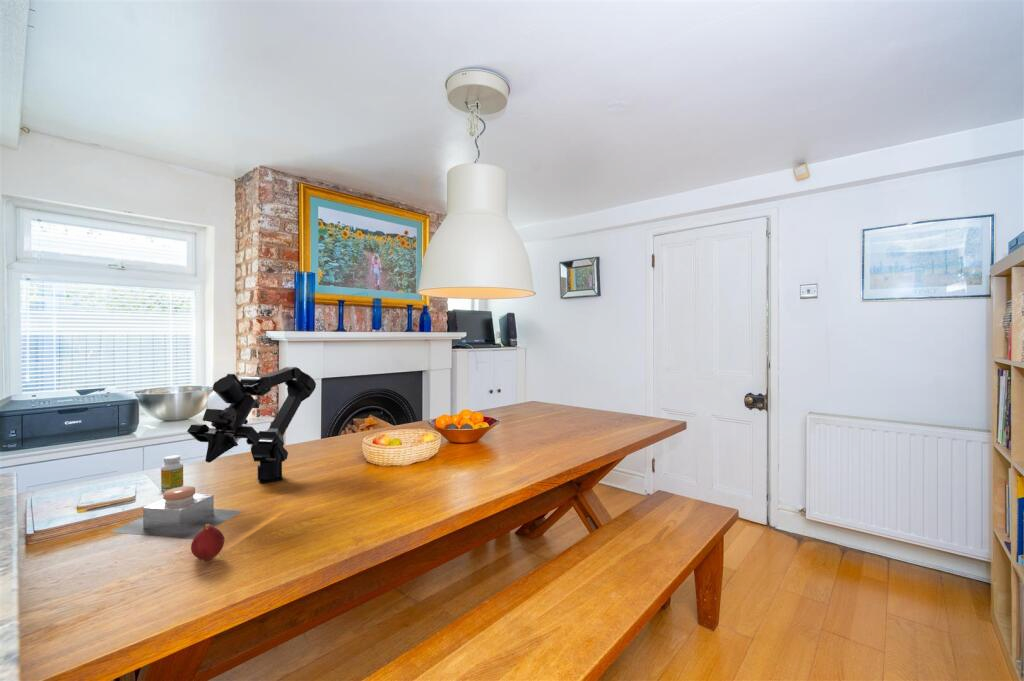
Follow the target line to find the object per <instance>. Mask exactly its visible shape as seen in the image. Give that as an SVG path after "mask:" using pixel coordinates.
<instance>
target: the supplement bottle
mask: <svg viewBox="0 0 1024 681" xmlns="http://www.w3.org/2000/svg"><path fill="white" fill-rule="evenodd" d="M163 463H164V464H162V465H161V466H160V467H161V468H160V480H161V482H160V485H161V486H160V487H161V488H160V490H161V491H162V490H163V492H165V491H167V490H170V489H173V488H177V487H184V464H183V462H181V455H180V454H179V455H178V454H176V455H175V454H174V455H167V456H164V457H163Z"/></svg>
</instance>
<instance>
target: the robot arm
mask: <svg viewBox="0 0 1024 681" xmlns="http://www.w3.org/2000/svg"><path fill="white" fill-rule="evenodd" d="M282 384H284V385H286V386H287V387H286V390H287V397H286V398H285V400H284V402H283V403H282V405H281V407H280V409H279V410H278V412H277V414H276V415H275V416H274V418H273V420H272V422H271V424H270V425H269V428H268V429H267V430H259V432H258V431H257V430H256V429H255V428H254V427H253V426H251V425H250V426H249V425H248V422H249V421H248V419H247V418H248V417H249V415H250V413H251V412H252V410H253V409H259V408H260V403H259V401H258V399H257V398H256V399H255V398H254V396H255V397H256V396H257V397H263V396H265V395H266V394H268V393H270V391H272V388H274V387H276V386H278V385H282ZM316 386H317V384H316V381H315V379H314V378H313V377H312V376H311V375H309V374H308V373H306V372H304V371H302V370H301V369H300V368H299V367H297V366H285V367H283V368H282V369H278V370H275V371H271V372H269V373H266V374H263V375H249V376H248V375H247V376H244V377H242V378H240V380H239V378H238V376H237V375H236V374H235V373H227V374H226V376H224V377H221V378H220V379H218V380H217V381H215V382H214V383H213V385H212V390H213V392H215V393H216V395H217V396H218V397H219V398H220V399H221V400H222V401H224V403H226V404H229V406H228V407H225V408H223V409H219V408H206V409H205V412H204V413H203V417H202V421H203V422H209V423H210V425H211V426H212V427H209V425H207V424H206V423H205V424H203V423H193V424H191V425H190V426H189V428H188V429H187V430H186V432H187V433H188V434H189V435H190V436H191V437H193V438H194V439H195V440H196V441H198V442H199V443H207V450H206V456H205V462H206V463H208V464H209V463H212V462H213V461H215V460H216V459H218V458H219V457H220V456H221V455H223V454H225V453H226V452H228V451H230V450H231V449H233V448H234V447H238V446H239V443H238V442H239V440H240V439H246V440H245V441H246V444H247V445H250V446H251V447H250V453H251V456H252V460H253V462H259V464H258V465H257V466H256V468H257V481H259V483H260V484H264V483H265V484H266V483H272V482H277V481H283V480H284V477H283V462H285V461H286V460H287V459H288V455H289V452H288V451H287V449H286V448H285V447H284V445H285V441H284V435H285V433H286V431H287V429H288V428H289V426H290V424H291V423H292V421H293V418H294V416H295V415H296V413H297V411H298V409H299V407H300V406H301V404H302V403H303V401H306V399H308V398H310V396H311V395H312V394H313V393H314V392H315V389H316ZM246 425H247V426H246Z"/></svg>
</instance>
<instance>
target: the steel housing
mask: <svg viewBox="0 0 1024 681" xmlns="http://www.w3.org/2000/svg"><path fill="white" fill-rule="evenodd" d="M214 500H215V498H214V494H208V493H207V494H206V493H205V494H204V493H195V494H194V495H193V500H191V501H188V502H186V503H184V504H182V505H168V504H165V500H164V499H160V500H158V501H155V502H154V503H151V504H148V505H146V506H143V507H142V517H143V528H148V529H160V530H172V531H182V530H183V529H185V528H187V527H189V526H191V525H193V524H195V523H197V522H199V521H201V520H203V519H205V518H207V517H209V516H211V515H213V514H214V509H215V507H214V506H215V505H214V503H215V502H214Z"/></svg>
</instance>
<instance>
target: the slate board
mask: <svg viewBox="0 0 1024 681" xmlns="http://www.w3.org/2000/svg"><path fill="white" fill-rule="evenodd" d="M242 512H243V510H237V509H235V510H234V509H222V508H214V514H213V515H211V516H209V517H207V518H205V519H203V520H201V521H199V522H197V523H195V524H193V525H191V526H189V527H187V528H185V529H183V530H182V531H172V530H160V529H148V528H143V516H142V517H139V518H138V519H135V520H132V521H130V522H128V523H126V524H124V525H121V526H119V527H117V528H115V529H111V530H109V531H108V532H109V533H116V534H127V535H128V534H129V535H138V536H139V535H140V536H151V537H161V538H172V539H173V538H175V539H184V540H193V539H194V537H195V536H196V535H197V534H198V533H199V532H200V531H201V530H202V529H204V527H203V526H205V525H206V524H209V525H211V526H212V527H215V528H216V527H217V526H219V525H221V524H222V523H224V522H226V521H228V520H229V519H232V518H233V517H235V516H237V515H238V514H240V513H242Z"/></svg>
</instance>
